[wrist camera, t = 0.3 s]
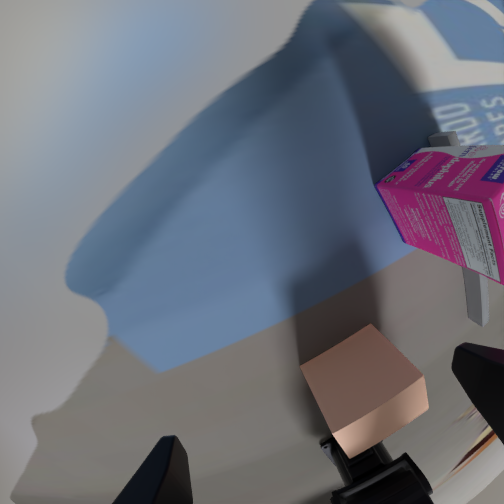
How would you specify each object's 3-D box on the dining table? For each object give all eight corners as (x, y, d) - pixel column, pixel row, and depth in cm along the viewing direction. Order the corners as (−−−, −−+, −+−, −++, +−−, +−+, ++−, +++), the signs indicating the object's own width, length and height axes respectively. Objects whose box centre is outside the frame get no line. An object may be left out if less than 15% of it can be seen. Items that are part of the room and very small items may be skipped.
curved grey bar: (475, 310, 25) (490, 319, 23) (468, 317, 25) (482, 327, 23) (437, 132, 20) (456, 130, 17) (427, 137, 20) (447, 135, 17)
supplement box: (417, 144, 20) (534, 142, 9) (444, 204, 22) (551, 231, 11) (369, 182, 20) (494, 199, 9) (402, 244, 22) (511, 295, 11)
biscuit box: (382, 357, 25) (428, 409, 17) (318, 396, 25) (350, 459, 17) (370, 322, 23) (423, 375, 16) (299, 365, 23) (332, 433, 16)
